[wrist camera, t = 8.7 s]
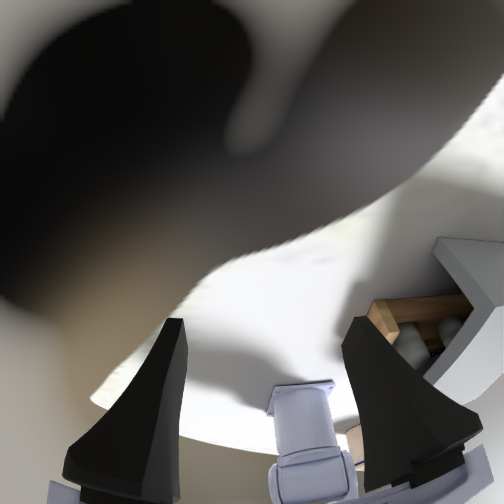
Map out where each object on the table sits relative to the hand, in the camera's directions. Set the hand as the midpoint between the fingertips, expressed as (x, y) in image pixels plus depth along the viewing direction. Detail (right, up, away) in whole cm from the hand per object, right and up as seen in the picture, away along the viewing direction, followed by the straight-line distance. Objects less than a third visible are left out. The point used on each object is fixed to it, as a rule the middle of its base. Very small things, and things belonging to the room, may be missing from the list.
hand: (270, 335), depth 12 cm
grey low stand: (+24, -4, +16) cm, 29 cm away
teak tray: (+18, -4, +16) cm, 24 cm away
